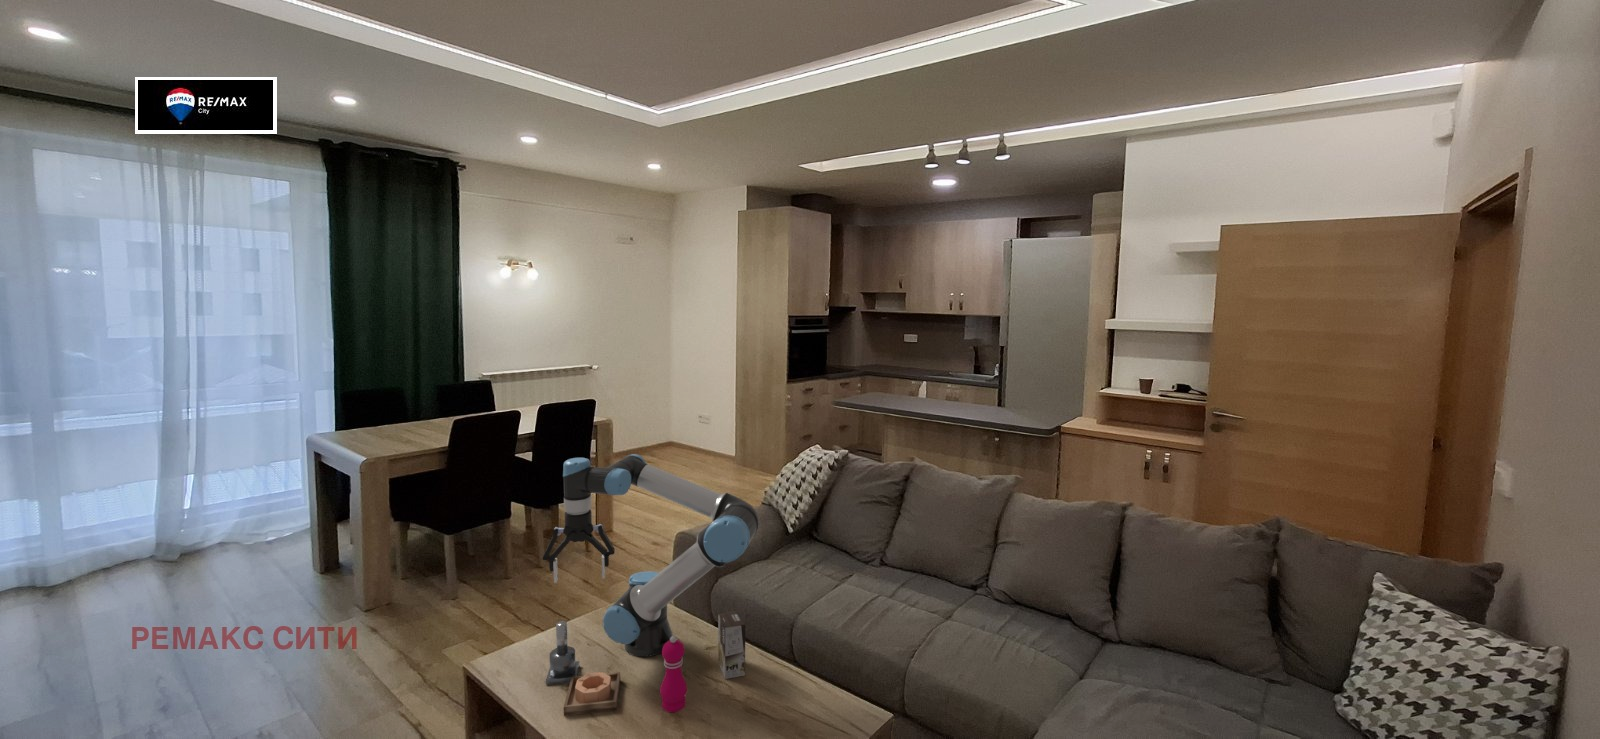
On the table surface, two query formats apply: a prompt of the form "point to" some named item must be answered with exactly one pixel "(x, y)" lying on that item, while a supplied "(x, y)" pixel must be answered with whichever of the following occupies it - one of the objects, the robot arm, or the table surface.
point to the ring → (593, 688)
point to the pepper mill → (673, 676)
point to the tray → (606, 705)
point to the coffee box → (731, 644)
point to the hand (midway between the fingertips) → (580, 578)
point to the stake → (562, 658)
